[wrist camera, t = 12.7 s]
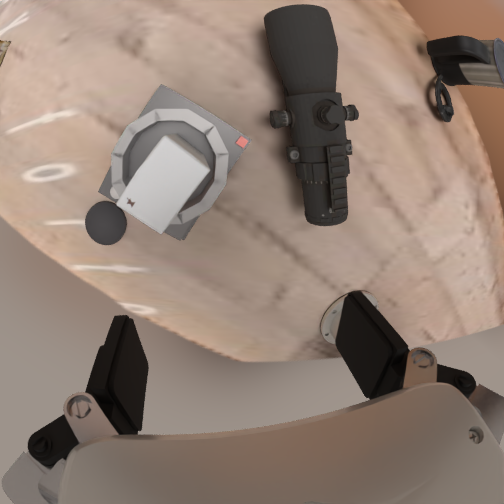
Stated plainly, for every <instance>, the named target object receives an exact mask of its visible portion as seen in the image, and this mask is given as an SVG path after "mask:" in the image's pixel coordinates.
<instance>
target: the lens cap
mask: <svg viewBox="0 0 504 504" xmlns="http://www.w3.org/2000/svg"><path fill="white" fill-rule="evenodd" d="M85 225H86V230H87V232H88V234H89V236H90V237H91V238H92V239H93V240H94V241H95V242H97V243H99V244H102V245H112V244H114V243H116V242H118V241H119V240H120V239H121V238H122V236H123V234H124V233H125V230H126V225H127V222H126V217H125V214H124V212H123V211H122V209H121V208H120V207H118V206H117V205H116V204H115V203H112V202H109V201H102V202H99V203H97V204H95V205H94V206H93V207H92V208H91V209H90V210H89V211H88V213H87V215H86V219H85Z"/></svg>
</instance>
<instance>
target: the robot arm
mask: <svg viewBox="0 0 504 504" xmlns="http://www.w3.org/2000/svg"><path fill="white" fill-rule="evenodd" d="M378 307H379V306H378V301H377V300H376V298H375V297H374V296H373V295H372V294H371V293H369V292H366V291H356V292H351V293H348V294H347V295H345V296H343V297H342V298H340V299H338V300H337V301H336V302H335V303H334V304H333V305H332V306H331V307H330V308H329V309H328V310H327V312H326V313H325V315H324V317H323V319H322V322H321V333H322V335H323V337H324V339H325V340H326V341H327V342H329V343H331V344H336V347H337V349H338V350H339V352H340V354H341V355H342V357H343V359H344V361H345V362H346V364H347V366H348V367H349V369H350V371H351V373H352V374H353V376H354V378H355V380H356V381H357V383H358V385H359V386H360V389H361V390H362V392H363V394H364V396H365V397H366V398H369V399H370V400H368V401H366V402H362V403H359V404H356V405H353V406H350V407H347V408H343V409H340V410H336V411H333V412H329V413H325V414H321V415H317V416H313V417H309V418H305V419H301V420H296V421H292V422H287V423H281V424H275V425H270V426H264V427H257V428H250V429H243V430H235V431H225V432H215V433H201V434H176V435H138V431H141V430H142V421H143V410H144V401H145V392H146V384H147V376H148V361H147V359H146V356H145V353H144V350H143V347H142V345H141V342H140V339H139V336H138V333H137V330H136V327H135V324H134V321H133V319H131V318H129V317H128V316H127V315H122V316H121V315H120V316H114V319H113V321H112V324H111V327H110V329H109V332H108V335H107V338H106V341H105V344H104V345H103V346H100V348H99V350H98V353H97V356H96V359H95V362H94V365H93V368H92V371H91V375H90V378H89V381H88V385H87V388H86V391H85V392H78V393H75V394H72V395H71V396H69V397H68V398H67V400H66V401H65V403H64V407H63V411H64V415H62V416H61V417H59V418H57V419H56V420H54V421H53V422H51V423H49V424H48V425H46V426H45V427H43V428H41V429H40V430H38V431H37V432H35V433H34V434H32V435H31V437H30V439H29V441H28V450H29V451H28V452H27V453H25V452H23V453H22V454H21V455H20V457H19V458H18V459H17V460H16V461H15V463H14V464H13V465H12V466H11V467H10V469H9V470H8V471H7V472H6V474H5V475H4V476H3V479H2V487H3V490H4V492H5V493H6V495H7V496H8V497H9V498H10V500H11V501H12V502H13V503H14V504H504V453H503V451H502V449H501V447H500V445H499V444H500V441H501V438H502V435H503V432H504V397H503V396H501V395H499V394H497V393H495V392H493V391H492V390H490V389H488V388H486V387H484V386H482V385H481V384H479V385H478V386H476V381H475V380H474V378H473V376H472V375H470V374H469V373H468V372H465V371H462V370H458V369H454V368H451V367H447V366H443V365H439V364H437V359H436V357H435V355H434V354H433V353H432V352H431V351H429V350H428V349H425V348H420V347H419V348H414V349H412V350H411V351H410V350H409V349H408V345H407V344H406V343H405V341H404V340H403V339H402V338H401V337H400V335H399V334H398V333H397V332H396V331H395V330H394V328H393V327H392V326H391V325H390V324H389V322H388V321H387V320H386V319H385V318H384V317H383V315H382V314H381V313H380V312H379V311H378Z"/></svg>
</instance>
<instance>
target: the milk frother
mask: <svg viewBox="0 0 504 504" xmlns="http://www.w3.org/2000/svg"><path fill="white" fill-rule="evenodd" d="M427 51H428V54H429V55H430V56H431V57H432V62H433V66H434V68H435V70H436V72H437V74H438V76H439V77H438V79H437V81H436V85H435V96H436V102H437V106H438V110H439V113H440V115H441V117H442V119H443V120H444V121H445V122H450V121H451V118H452V116H453V115H454V110H453V106H452V103H451V98H450V95H449V93H448V91H447V89H446V87H445V86H444V84H443V83H441V80H442V81H443V82H444V83H446V84H447V85H449V86H455V85H478V86H488V87H497V88H504V43H503V41H502V40H501V39H499V38H496V39H495V40H477V39H475V38H472V37H468V36H452V37H447V38H441V39H436V40H432V41H428V42H427ZM441 89H442V91H443V92H444V94H445V97H446V100H447V104H448V105H442V100H441Z"/></svg>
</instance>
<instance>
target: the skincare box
mask: <svg viewBox="0 0 504 504" xmlns="http://www.w3.org/2000/svg"><path fill="white" fill-rule="evenodd" d="M209 172H210V168H209V166H208V164H207V161H206V159H205V157H204V155H203V154H202V153H201V152H200V151H198V150H197V149H196V148H195V147H193V146H192V145H191V144H189V143H188V142H187V141H186V140H184V139H183V138H182V137H180V136H179V135H178V134H171V135H165V136H163V137H162V138H161V140H160V141H159V142H158V144H157V145H156V146H155V147H154V149H153V150H152V151H151V153H150V154H149V156H148V157H147V158H146V160H145V161H144V162H143V164H142V165H141V166H140V167H139V169H138V170H137V171H136V173H135V175H134V176H133V178H132V179H131V181H130V182H129V184H128V185H127V187H126V188H125V190H124V191H123V193H122V195H121V196H120V198H119V200H118V201H117V203H116V205H117V206H118V207H120V208H121V209H123V210H124V211H126V212H127V213H129V214H130V215H132V216H133V217H135V218H136V219H138V220H139V221H141V222H142V223H144V224H146V225H147V226H149V227H150V228H152V229H153V230H155V231H156V232H158V233H159V234H163V232H164V231H165V229H166V228H167V227H168V226H169V224H170V223H171V222H172V220H173V219H174V218H175V216H176V215H177V214H178V212H179V211H180V209H181V208H182V207H183V205H184V204H185V202H186V201H187V200H188V198H189V197H190V196H191V194H192V193H193V192H194V191H195V189H196V188H197V187H198V185H199V184H200V183H201V182H202V180H203V179H204V178H205V176H206V175H207V174H208V173H209Z"/></svg>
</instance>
